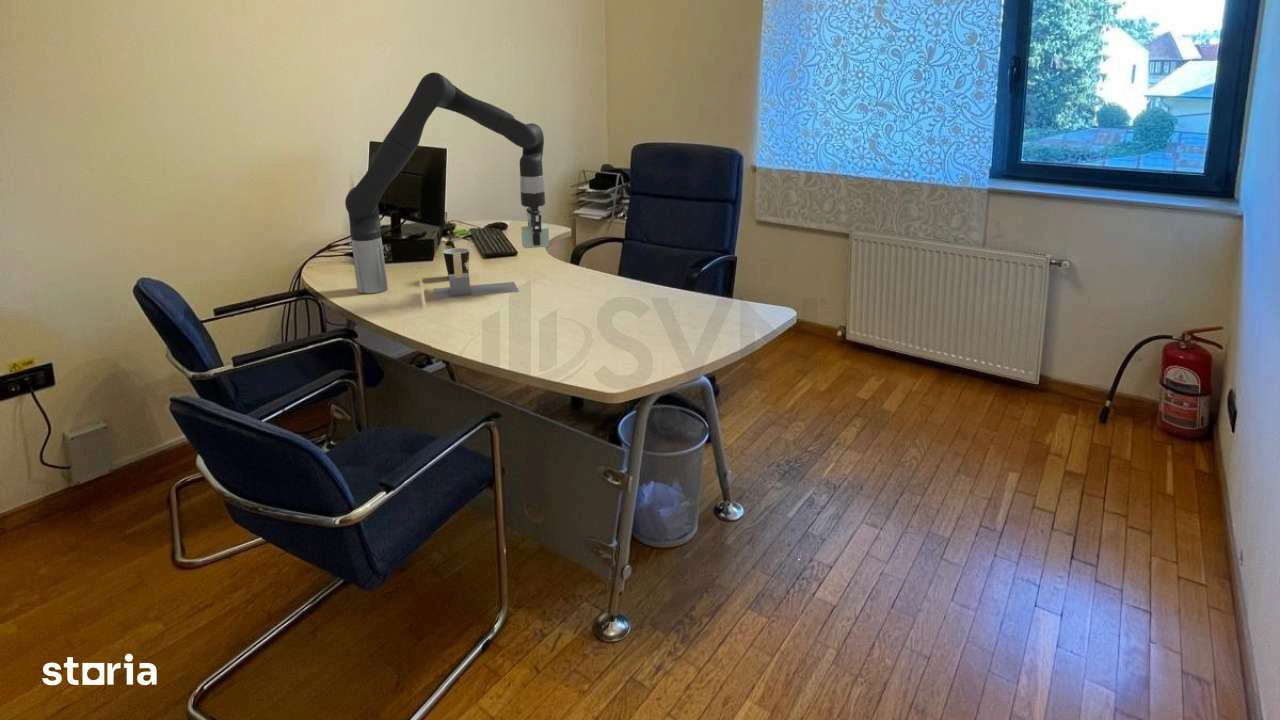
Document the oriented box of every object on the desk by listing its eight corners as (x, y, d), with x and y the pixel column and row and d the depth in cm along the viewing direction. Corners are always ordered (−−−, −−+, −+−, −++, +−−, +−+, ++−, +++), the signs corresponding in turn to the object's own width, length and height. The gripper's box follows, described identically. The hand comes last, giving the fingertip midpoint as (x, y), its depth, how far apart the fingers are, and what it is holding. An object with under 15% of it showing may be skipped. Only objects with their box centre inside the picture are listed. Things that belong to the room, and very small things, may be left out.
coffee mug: (457, 284, 267) (454, 255, 263) (440, 280, 272) (437, 251, 268) (483, 277, 276) (481, 248, 272) (466, 273, 281) (464, 245, 277)
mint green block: (524, 248, 254) (523, 229, 252) (522, 245, 259) (521, 226, 257) (549, 246, 256) (548, 228, 254) (546, 243, 261) (545, 225, 259)
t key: (454, 270, 260) (452, 252, 258) (462, 269, 261) (460, 251, 258) (455, 281, 247) (453, 262, 245) (463, 281, 248) (461, 261, 246)
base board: (435, 301, 249) (433, 283, 247) (434, 291, 260) (432, 273, 257) (519, 294, 255) (518, 276, 253) (514, 284, 266) (513, 267, 264)
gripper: (517, 187, 257) (520, 239, 263) (523, 194, 244) (527, 249, 250) (540, 186, 259) (543, 238, 265) (548, 193, 246) (551, 247, 252)
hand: (535, 243), depth 257 cm, fingers closed on mint green block, 5 cm apart
